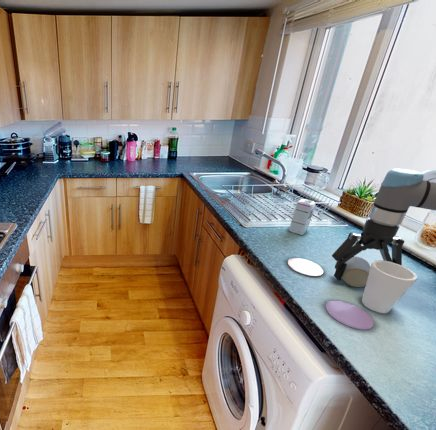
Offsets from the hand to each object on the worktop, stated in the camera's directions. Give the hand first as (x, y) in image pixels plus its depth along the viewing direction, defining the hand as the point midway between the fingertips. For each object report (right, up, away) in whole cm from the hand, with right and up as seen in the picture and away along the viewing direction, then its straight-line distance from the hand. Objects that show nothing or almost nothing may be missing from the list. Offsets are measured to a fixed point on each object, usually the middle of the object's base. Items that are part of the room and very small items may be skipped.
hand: (356, 280), depth 95 cm
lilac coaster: (-13, -7, -13) cm, 20 cm away
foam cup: (-2, -6, -9) cm, 11 cm away
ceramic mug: (0, -1, 0) cm, 1 cm away
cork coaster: (-12, +3, +8) cm, 15 cm away
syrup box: (+2, +14, +34) cm, 36 cm away
